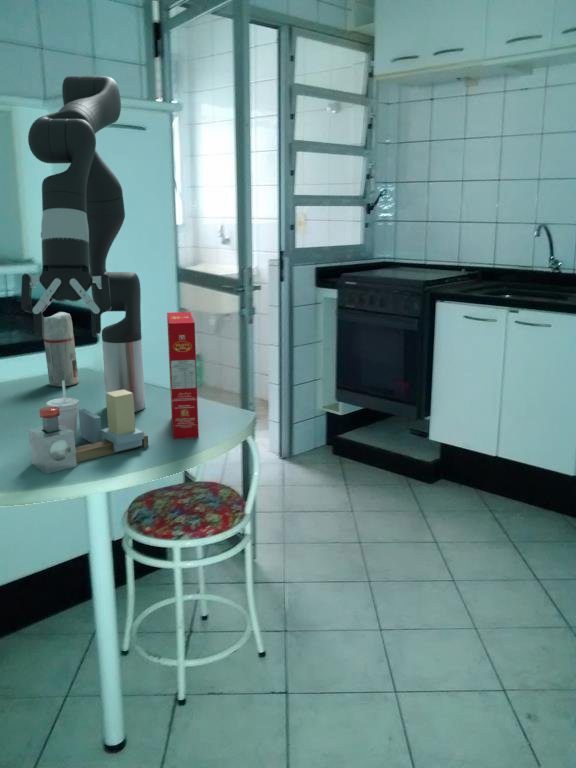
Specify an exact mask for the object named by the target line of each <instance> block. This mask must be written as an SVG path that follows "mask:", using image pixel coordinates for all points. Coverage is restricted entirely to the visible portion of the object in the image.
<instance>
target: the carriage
mask: <svg viewBox="0 0 576 768" xmlns="http://www.w3.org/2000/svg"><path fill="white" fill-rule="evenodd" d="M106 402H107V406H106V413H107V427H105V428H102V418H101V416H99V415H97V414H95V413H93V412H91V411H89V410H87V409H86V408H81V409H78V419H79V420H78V421H79V430H80V431H79V433H80V437H81V438H83V439H84V440H85V441H88V442H89V443H90V444H92V443H96V442H101V441H105V440H108V441H110V442H112V443H113V448H114V451H115V452H117V451H121V450H125V449H129V448H133V447H137V446H141V445H142V439H144V434H145V433H144V431H142V430H141V429H139V428H136V419H135V418H136V416H135V412H134V398H133V393H131V392H129V391H127V390H124V389H123V390H118V391H112V392H107V393H106V392H105V403H106ZM141 447H142V446H141ZM137 448H138V447H137ZM133 449H134V448H133ZM129 450H130V449H129ZM125 451H126V450H125ZM121 452H122V451H121ZM117 453H118V452H117Z"/></svg>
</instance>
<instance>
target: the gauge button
mask: <svg viewBox="0 0 576 768" xmlns="http://www.w3.org/2000/svg"><path fill="white" fill-rule="evenodd" d="M38 410H39V412H38V413H39V417H40V418H42V419H41V421H42V426H43V432H45V433H46V434H49V433H54V432H58V431H59V423H58V416H59V415H60V410H59V407H47V406H45V407H42V408H41V407H40V408H39V409H38Z"/></svg>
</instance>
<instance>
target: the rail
mask: <svg viewBox="0 0 576 768" xmlns="http://www.w3.org/2000/svg"><path fill="white" fill-rule="evenodd" d="M141 447H142V448H148V447H149V435H147V434H145V433H144V439H142V445H141V446H137V447H133V448H129V449H125V450H121V451H117V452H115V451H114V448H113V443H112V442H110V441H108V440H105V441H103V440H102V441H101V442H96V443H88V444H85V445H84V444H83V445H80V446H75V449H76V462H77V463H80V462H84V461H89V460H92V459H96V458H100V457H105V456H108V455H112V454H116V453H121V452H124V451H128V450H132V449H137V448H141Z"/></svg>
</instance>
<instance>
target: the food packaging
mask: <svg viewBox="0 0 576 768" xmlns="http://www.w3.org/2000/svg"><path fill="white" fill-rule="evenodd" d="M166 316H167V317H166V318H167V319H166V320H167V321H166V322H167V344H168V363H169V385H170V386H169V387H170V390H169V391H170V408H171V409H170V410H171V423H172V424H171V425H173V426H172V432H173V440H178V439H192V438H193V439H195V438H196V439H197V438H200V437H199V435H200V434H199V409H198V407H199V406H198V382H197V379H198V377H197V354H196V352H197V351H196V349H197V348H196V326H195V325H196V323H195V320H194V317H193V314H192V312H191V311H185V312H184V311H181V312H177V311H175V312H166Z"/></svg>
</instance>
